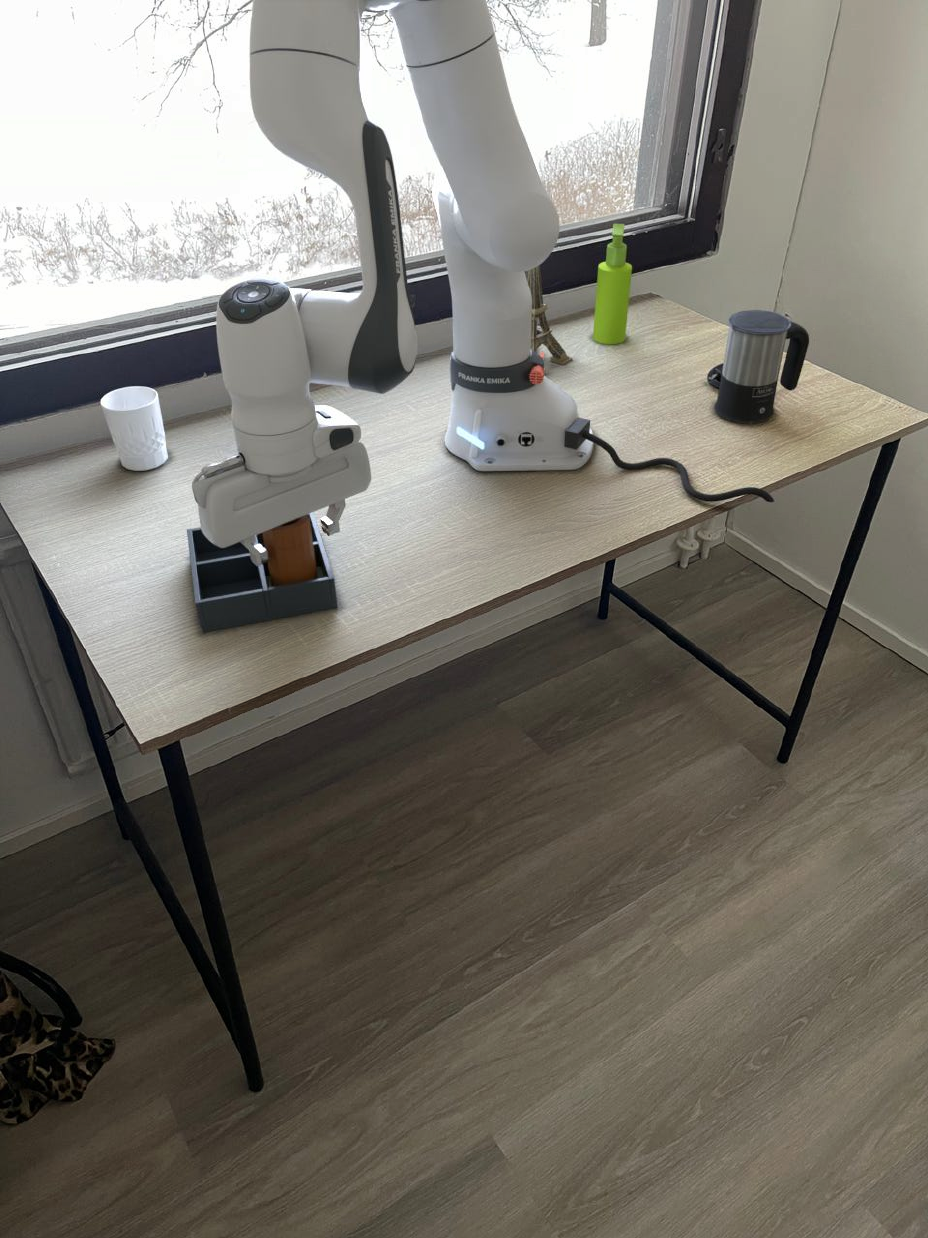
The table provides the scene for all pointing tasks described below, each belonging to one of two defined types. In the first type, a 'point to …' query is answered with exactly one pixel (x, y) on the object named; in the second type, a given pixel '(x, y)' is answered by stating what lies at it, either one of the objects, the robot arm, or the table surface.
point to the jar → (291, 552)
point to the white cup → (136, 427)
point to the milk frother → (757, 365)
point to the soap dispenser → (613, 292)
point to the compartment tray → (252, 584)
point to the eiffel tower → (542, 320)
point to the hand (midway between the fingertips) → (296, 546)
